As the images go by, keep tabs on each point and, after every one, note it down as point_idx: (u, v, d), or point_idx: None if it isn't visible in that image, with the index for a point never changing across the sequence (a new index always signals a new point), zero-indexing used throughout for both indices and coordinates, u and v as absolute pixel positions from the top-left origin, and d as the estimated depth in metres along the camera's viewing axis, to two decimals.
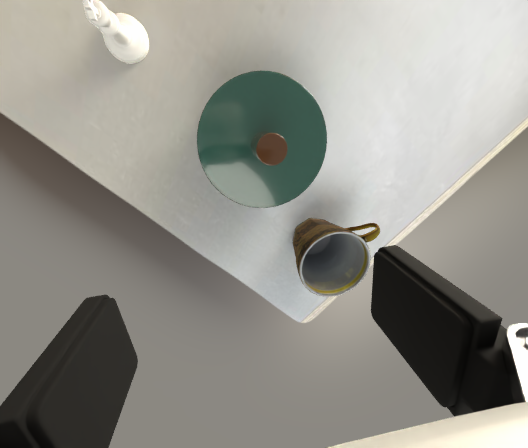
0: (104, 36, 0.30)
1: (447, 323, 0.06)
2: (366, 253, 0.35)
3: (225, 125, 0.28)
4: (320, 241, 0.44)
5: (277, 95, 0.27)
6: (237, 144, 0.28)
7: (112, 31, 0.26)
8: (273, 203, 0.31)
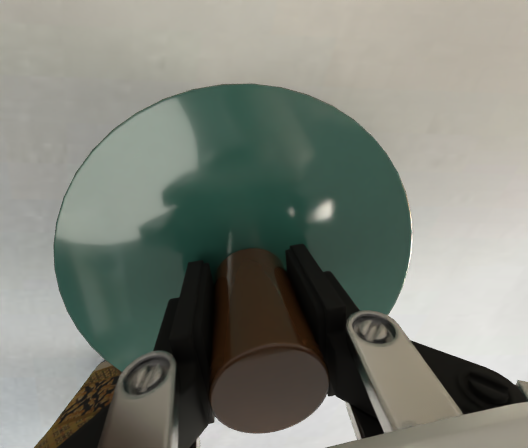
0: None
1: (312, 311, 0.07)
2: None
3: (251, 166, 0.09)
4: None
5: (368, 252, 0.11)
6: (219, 219, 0.10)
7: None
8: (126, 366, 0.11)
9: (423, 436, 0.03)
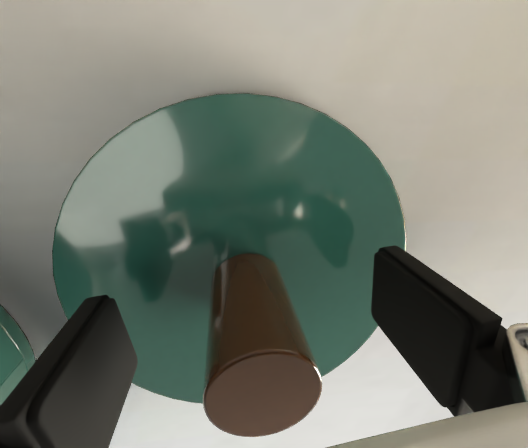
0: None
1: (447, 323, 0.06)
2: None
3: (246, 173, 0.09)
4: None
5: (363, 256, 0.11)
6: (215, 225, 0.10)
7: None
8: None
9: (423, 436, 0.03)
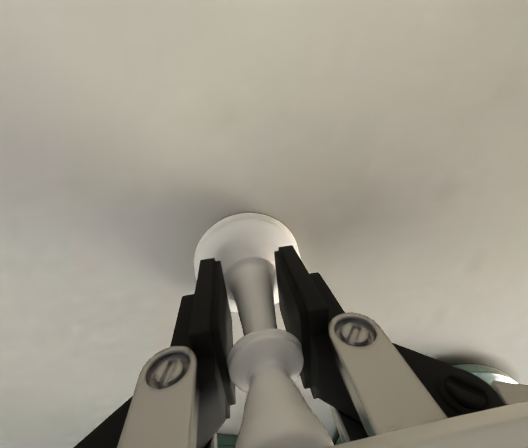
0: (226, 231, 0.11)
1: (296, 313, 0.07)
2: None
3: None
4: None
5: None
6: None
7: (248, 389, 0.07)
8: None
9: (423, 436, 0.03)
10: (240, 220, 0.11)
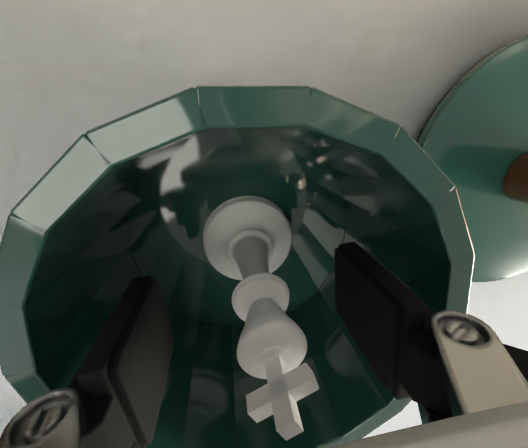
0: (230, 209, 0.13)
1: (384, 311, 0.07)
2: None
3: None
4: None
5: None
6: (526, 125, 0.14)
7: None
8: None
9: (423, 436, 0.03)
10: (241, 200, 0.13)
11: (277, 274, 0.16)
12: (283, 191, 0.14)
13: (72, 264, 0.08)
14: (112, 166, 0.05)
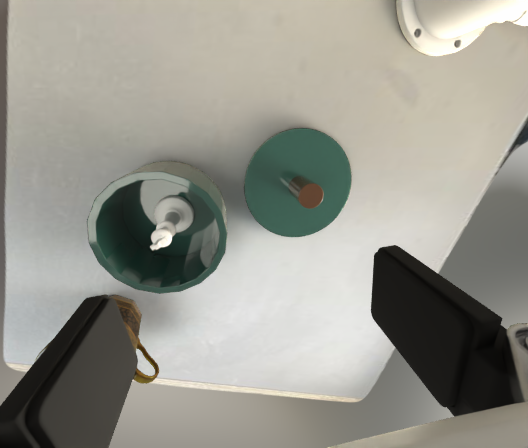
0: (164, 201, 0.32)
1: (447, 323, 0.06)
2: None
3: (301, 150, 0.33)
4: None
5: (337, 178, 0.35)
6: (291, 165, 0.33)
7: None
8: (257, 216, 0.35)
9: (423, 436, 0.03)
10: (169, 197, 0.32)
11: (190, 231, 0.35)
12: (188, 193, 0.33)
13: (105, 216, 0.27)
14: (117, 189, 0.25)
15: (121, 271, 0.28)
